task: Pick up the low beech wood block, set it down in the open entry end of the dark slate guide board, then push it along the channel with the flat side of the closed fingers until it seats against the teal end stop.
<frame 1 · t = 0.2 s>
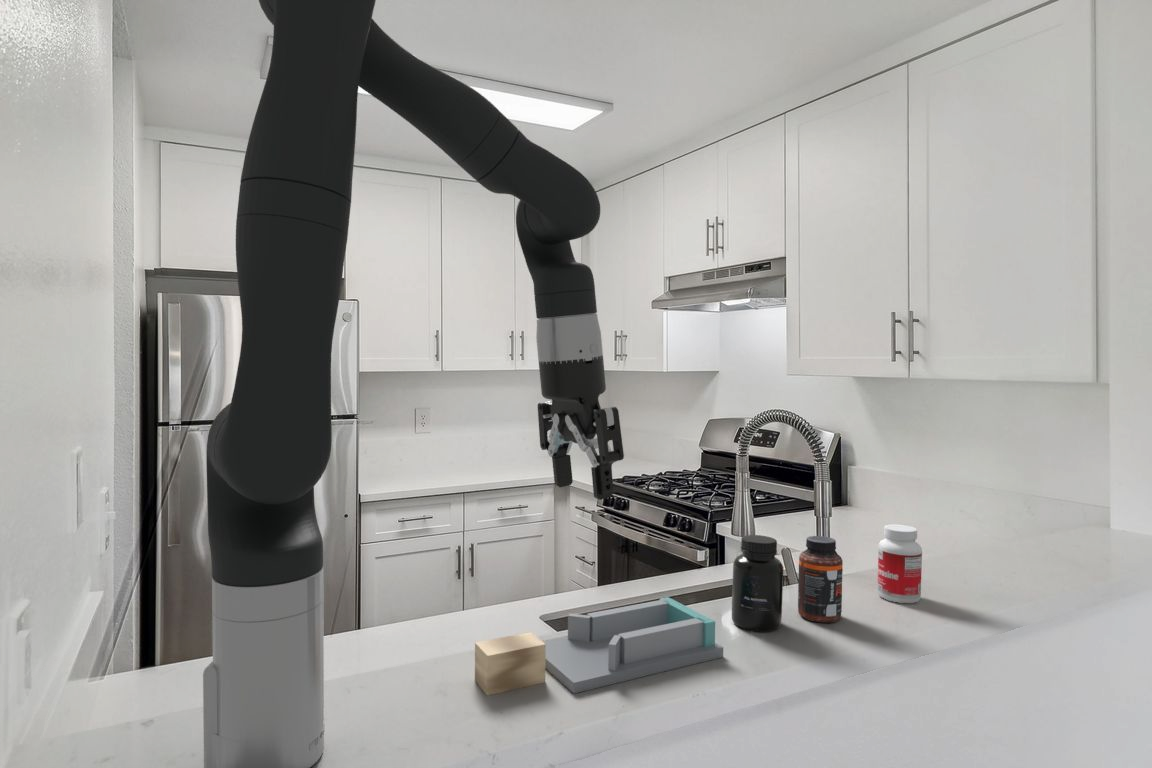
hand: (583, 491, 83), 21 cm above the countertop, tool pointing down, fingers open, 8 cm apart
pill bottle: (898, 599, 109), on the countertop
guide board: (625, 654, 87), on the countertop
supplement bottle: (756, 625, 98), on the countertop
supplement bottle 2: (819, 618, 101), on the countertop
beech block: (509, 682, 80), on the countertop
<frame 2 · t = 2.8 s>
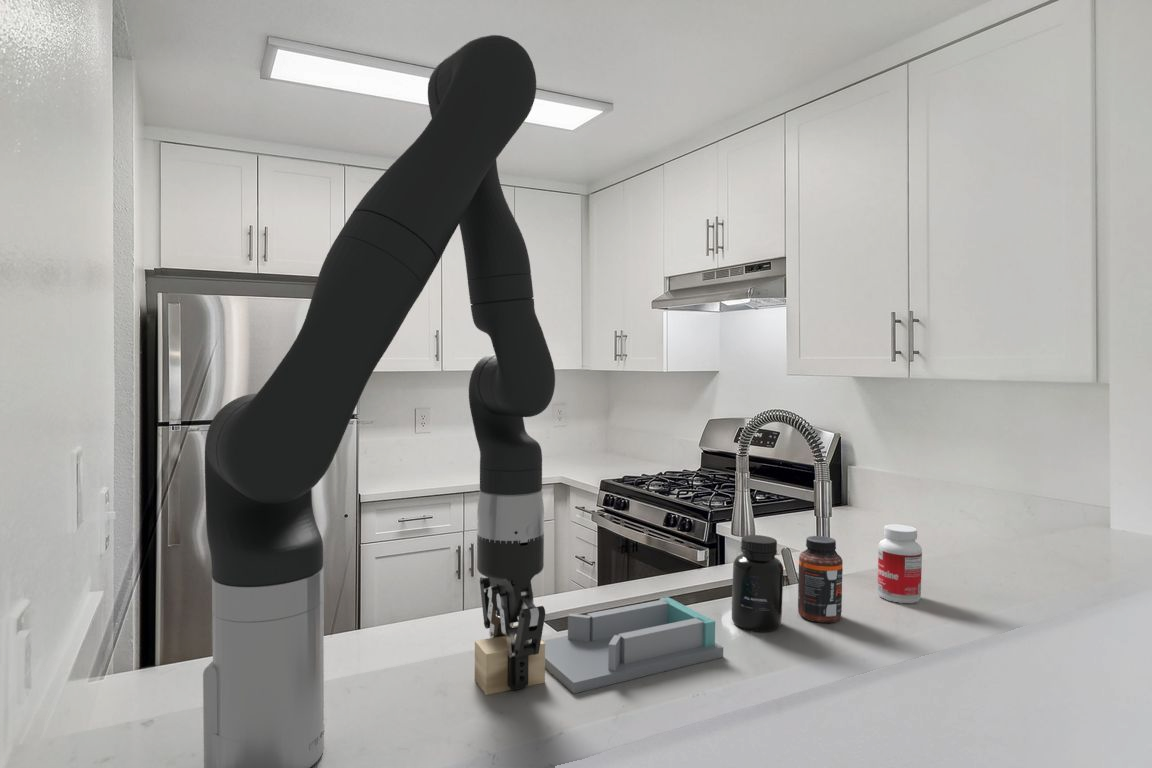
hand: (509, 678, 80), 0 cm above the countertop, tool pointing down, fingers closed on beech block, 4 cm apart
beech block: (509, 681, 80), on the countertop, touching gripper
everything else where it was.
when the fingers open (3 cm above the countertop, at t = 6.4 s): beech block drops 1 cm, resting on guide board.
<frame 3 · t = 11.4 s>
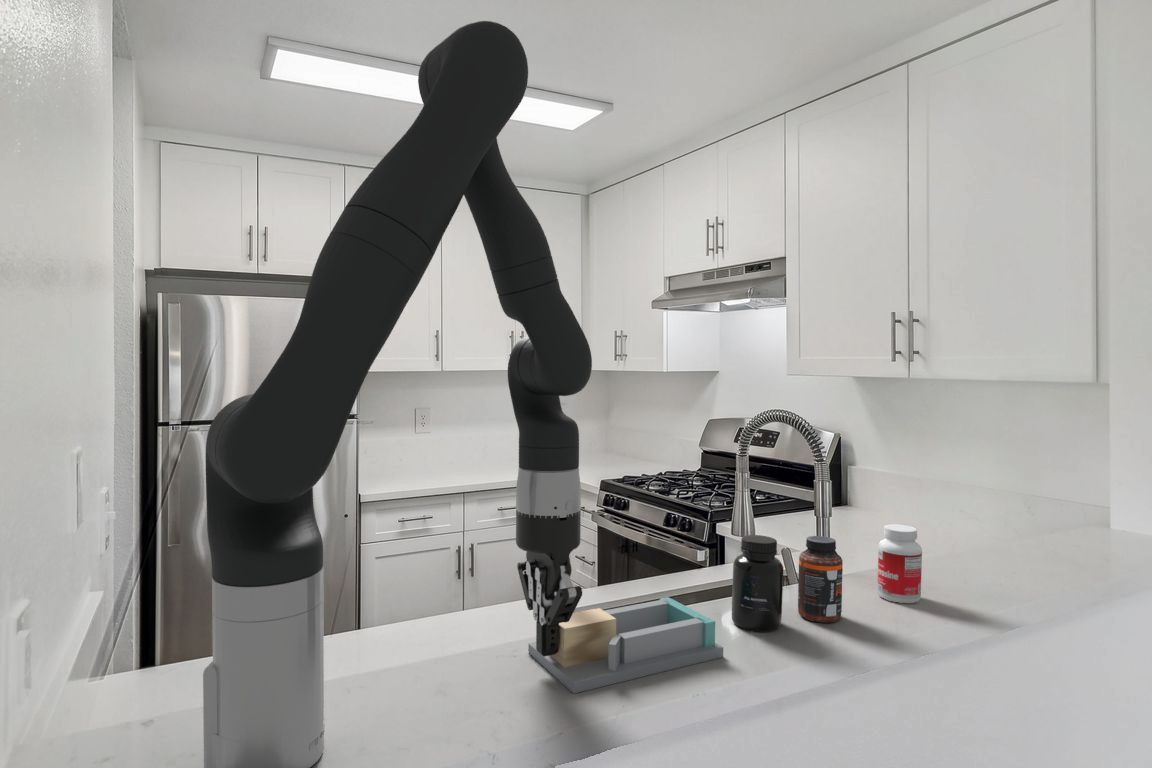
hand: (547, 652, 82), 2 cm above the countertop, tool pointing down, fingers closed
beech block: (582, 654, 84), point 1 cm above the countertop, touching gripper, guide board
everything else where it was.
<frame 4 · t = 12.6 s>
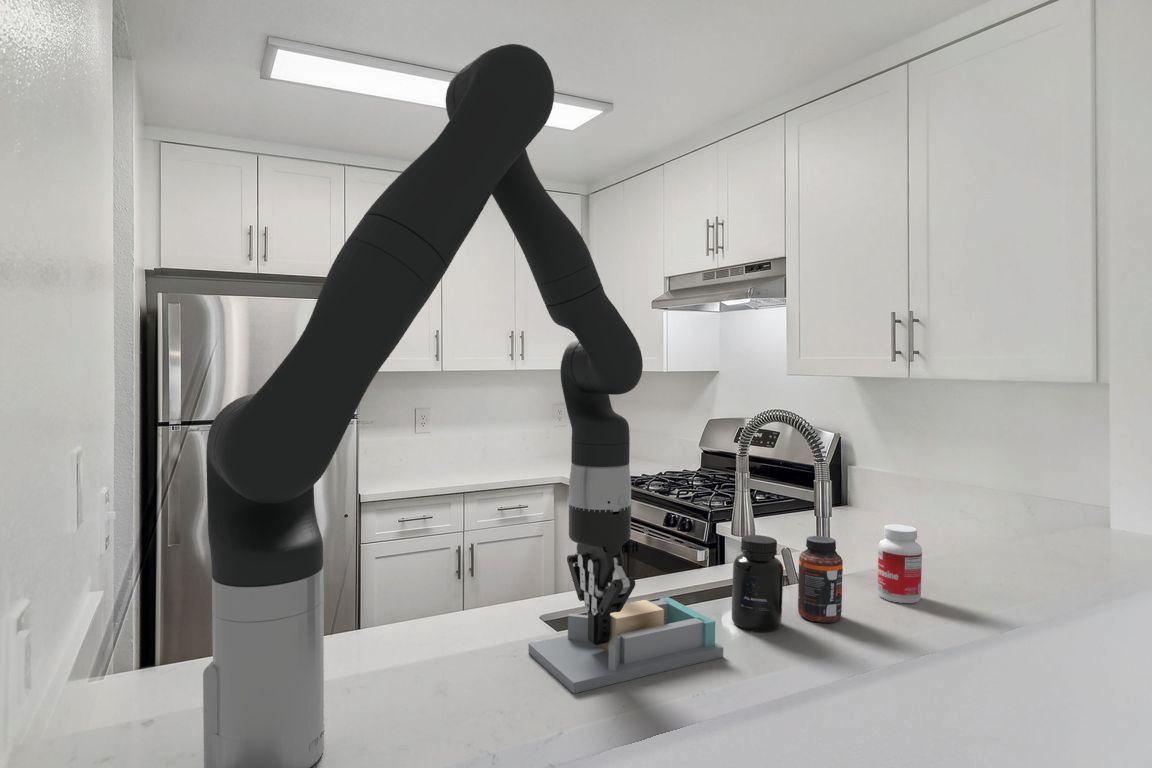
hand: (598, 641, 85), 2 cm above the countertop, tool pointing down, fingers closed
beech block: (630, 644, 87), point 1 cm above the countertop
everything else where it was.
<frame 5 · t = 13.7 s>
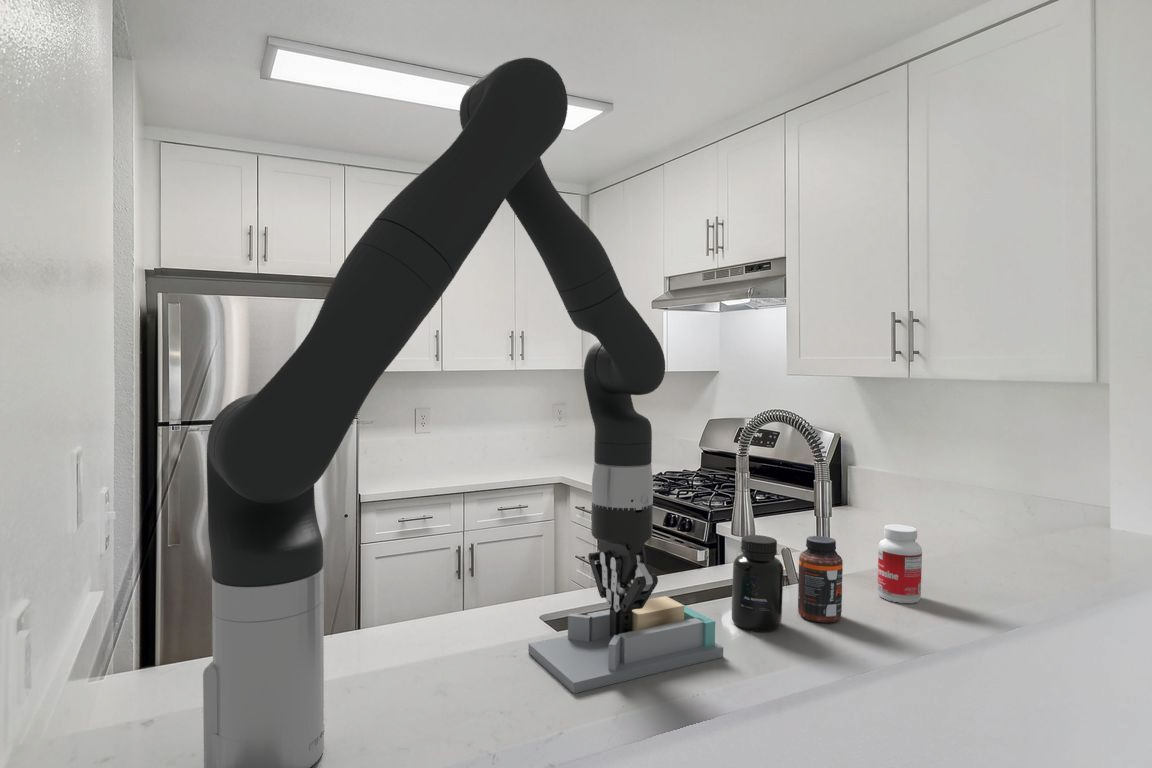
hand: (620, 638, 87), 2 cm above the countertop, tool pointing down, fingers closed
beech block: (651, 640, 89), point 1 cm above the countertop, touching gripper, guide board
everything else where it was.
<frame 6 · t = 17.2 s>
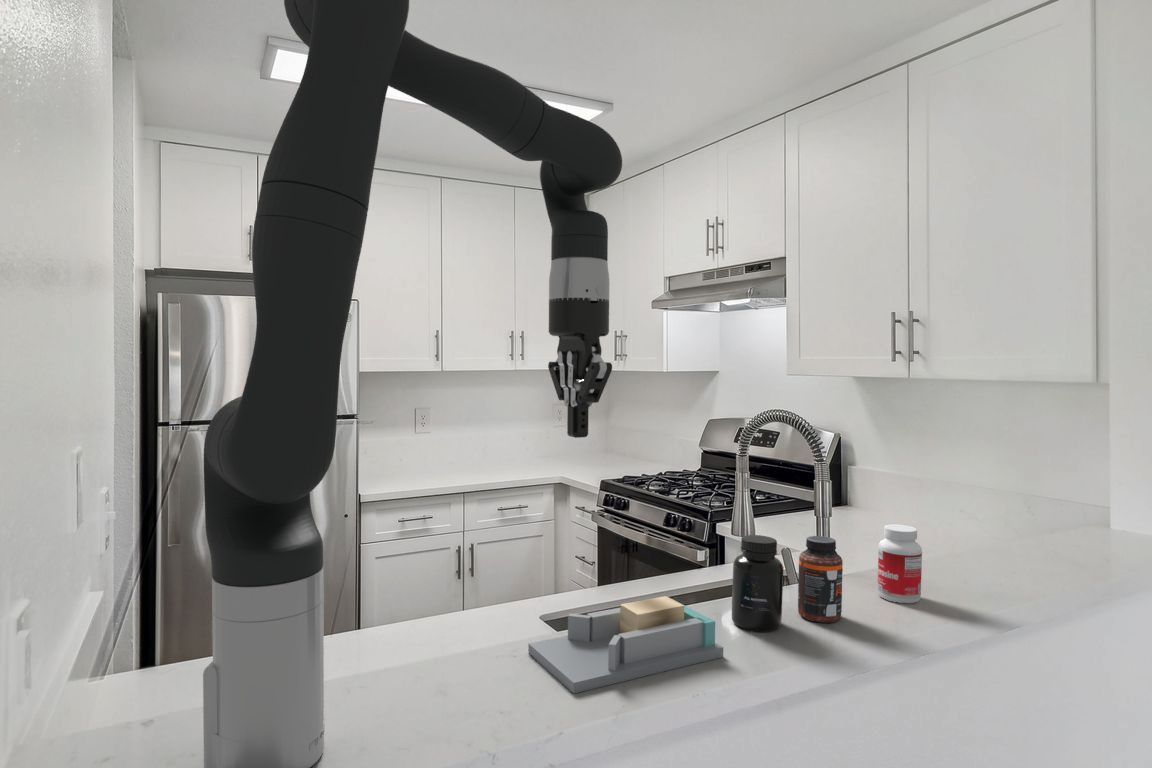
hand: (577, 436, 88), 27 cm above the countertop, tool pointing down, fingers closed
beech block: (651, 640, 89), point 1 cm above the countertop, touching guide board
everything else where it was.
at the end: beech block 1.1 cm from the target spot on the guide board, point 1.2 cm above the guide board's base; beech block tilted 0°; the gripper is holding nothing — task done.
